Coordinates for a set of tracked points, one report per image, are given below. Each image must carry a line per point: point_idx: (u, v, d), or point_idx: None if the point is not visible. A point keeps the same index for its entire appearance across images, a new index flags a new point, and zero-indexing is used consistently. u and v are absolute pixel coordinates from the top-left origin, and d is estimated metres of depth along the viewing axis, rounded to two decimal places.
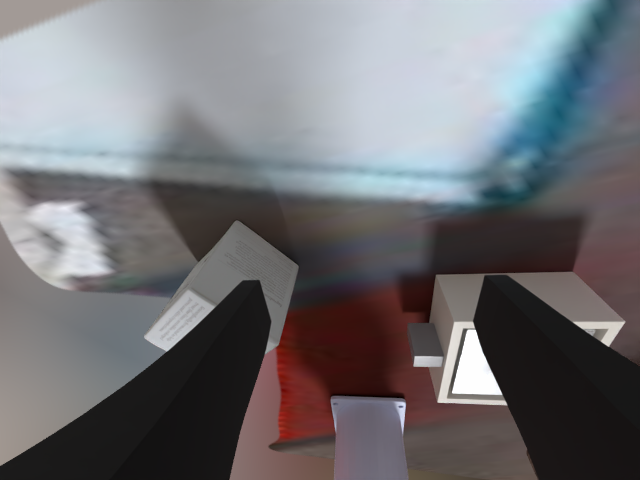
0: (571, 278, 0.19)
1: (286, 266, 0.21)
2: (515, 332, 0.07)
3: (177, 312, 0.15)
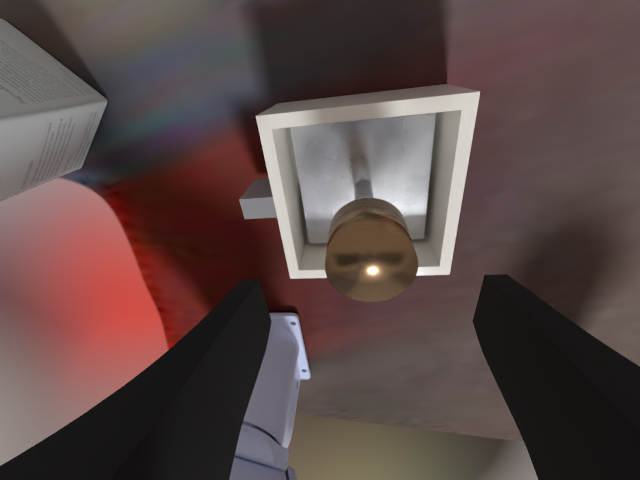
0: (440, 86, 0.14)
1: (76, 87, 0.16)
2: (515, 332, 0.07)
3: None
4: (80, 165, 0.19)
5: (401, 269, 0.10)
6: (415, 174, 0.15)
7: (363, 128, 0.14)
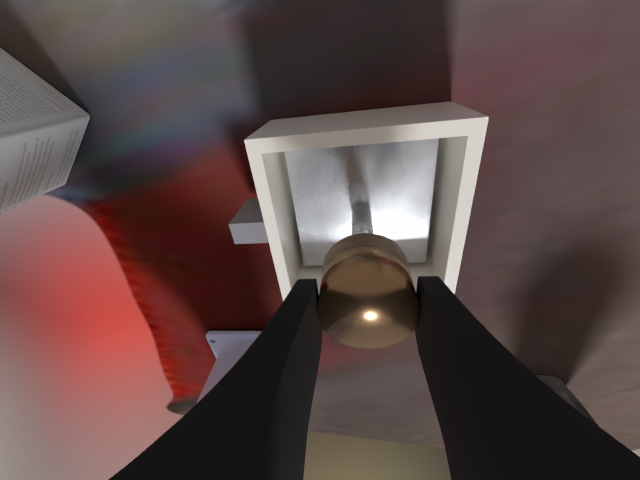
0: (444, 104, 0.13)
1: (55, 103, 0.15)
2: (434, 332, 0.07)
3: None
4: (64, 182, 0.18)
5: (401, 318, 0.09)
6: (417, 197, 0.14)
7: (361, 149, 0.13)
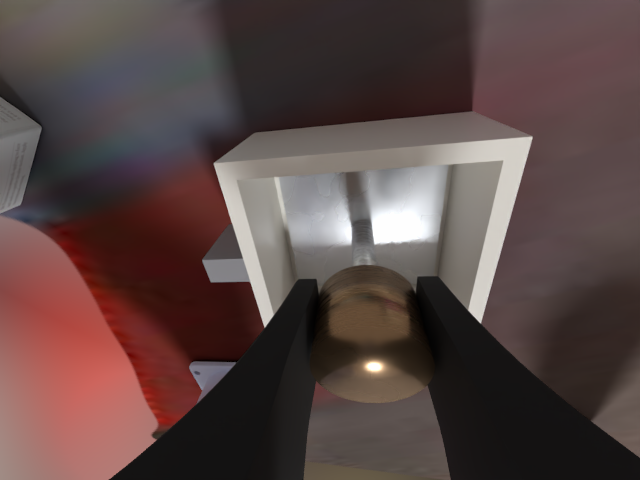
0: (465, 115, 0.11)
1: None
2: (433, 332, 0.07)
3: None
4: (18, 202, 0.16)
5: (411, 372, 0.07)
6: (424, 214, 0.13)
7: None
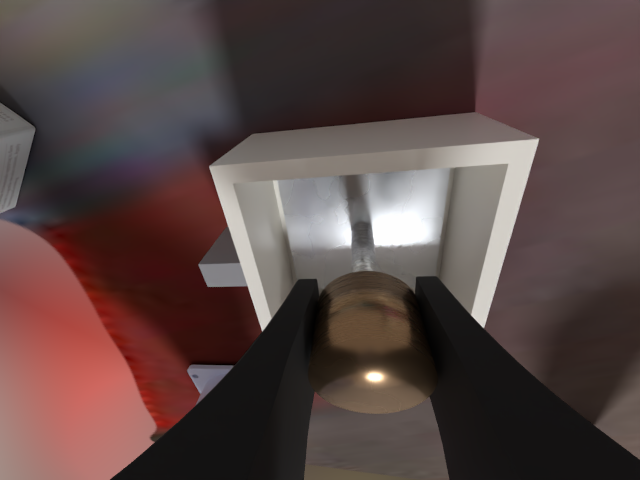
0: (467, 116, 0.11)
1: None
2: (432, 332, 0.07)
3: None
4: (12, 204, 0.15)
5: (413, 383, 0.07)
6: (425, 217, 0.13)
7: None
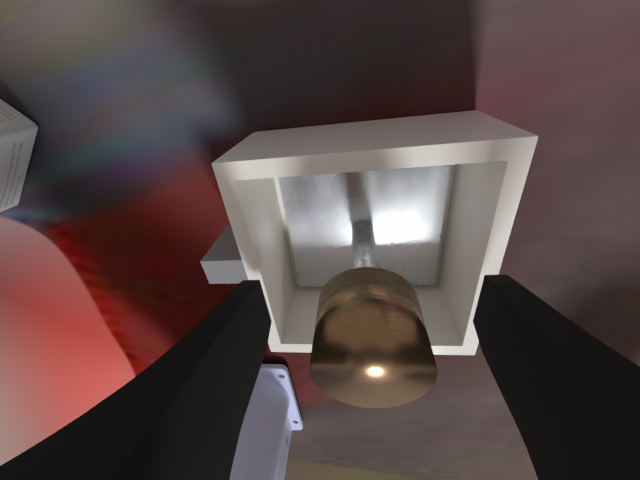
0: (467, 114, 0.11)
1: None
2: (515, 332, 0.07)
3: None
4: (15, 202, 0.15)
5: (413, 378, 0.07)
6: (425, 214, 0.13)
7: None
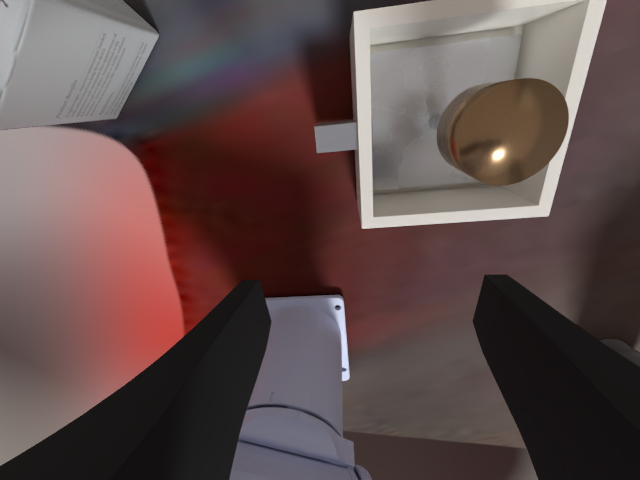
0: None
1: (129, 12, 0.14)
2: (515, 332, 0.07)
3: None
4: (116, 114, 0.17)
5: (547, 136, 0.09)
6: None
7: (445, 52, 0.14)
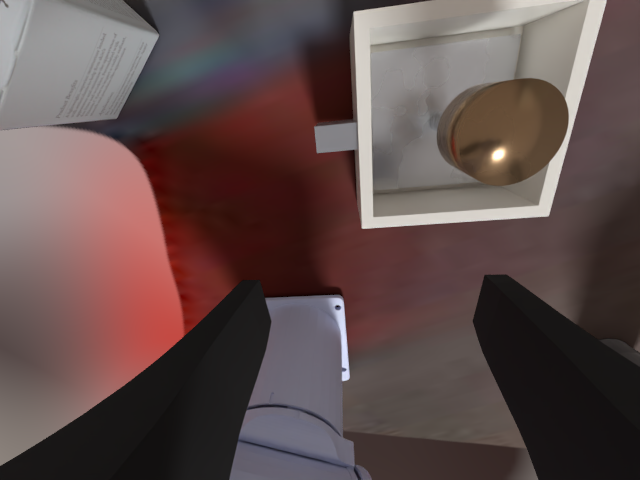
0: None
1: (129, 12, 0.14)
2: (515, 332, 0.07)
3: None
4: (116, 114, 0.17)
5: (547, 136, 0.09)
6: None
7: (445, 52, 0.14)
